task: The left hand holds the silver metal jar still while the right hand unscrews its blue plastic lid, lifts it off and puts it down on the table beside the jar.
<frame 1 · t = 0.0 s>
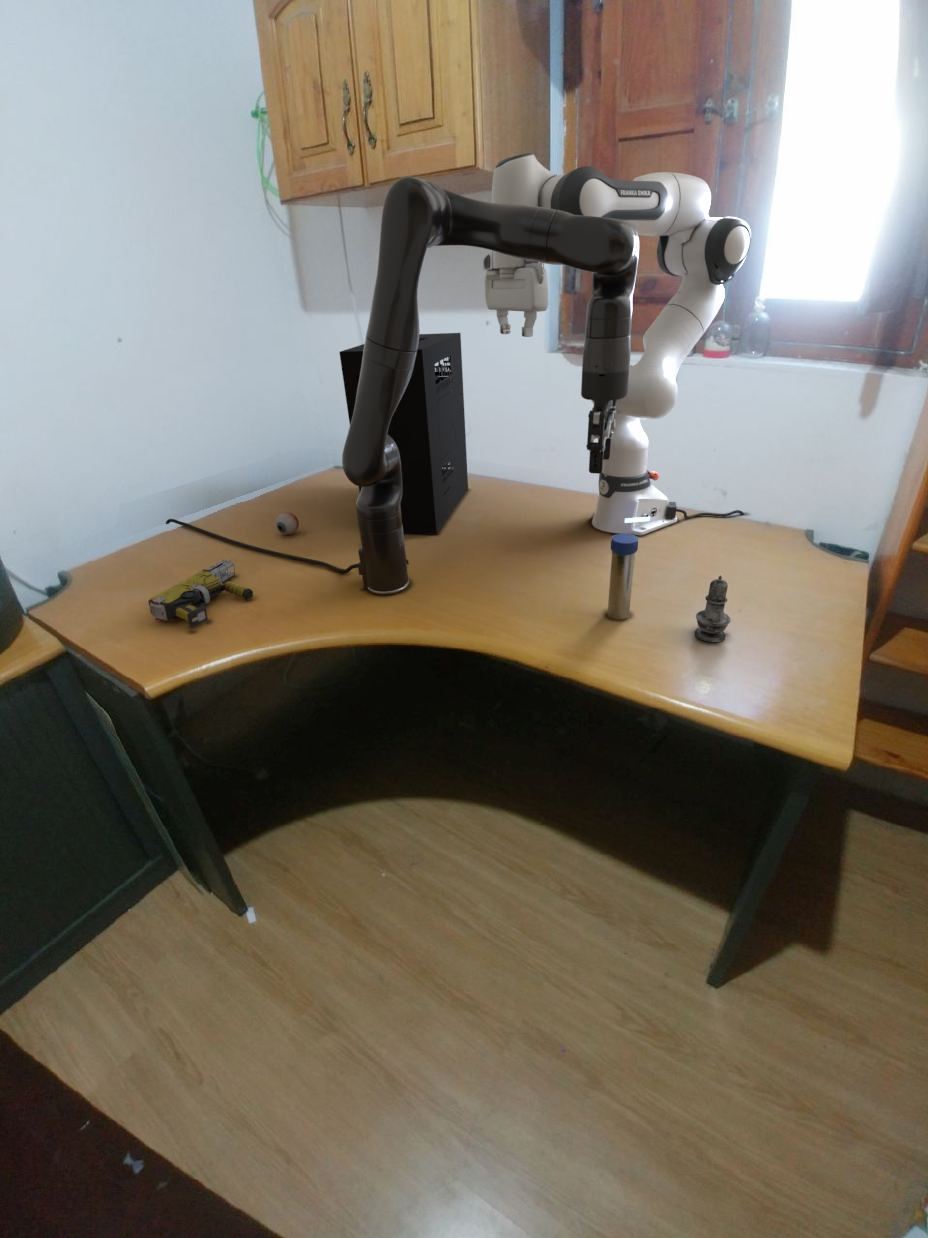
left hand: (599, 465, 106), 29 cm above the table, tool pointing down, fingers open, 8 cm apart
right hand: (516, 335, 125), 48 cm above the table, tool pointing down, fingers open, 8 cm apart
lid: (624, 540, 111), point 16 cm above the table, screwed on, not yet turned
grey stone tiered figure: (709, 635, 110), on the table
toy gun: (217, 601, 132), on the table
cardboard box: (420, 509, 177), on the table
jar: (618, 614, 119), on the table
eyeball: (289, 534, 165), on the table
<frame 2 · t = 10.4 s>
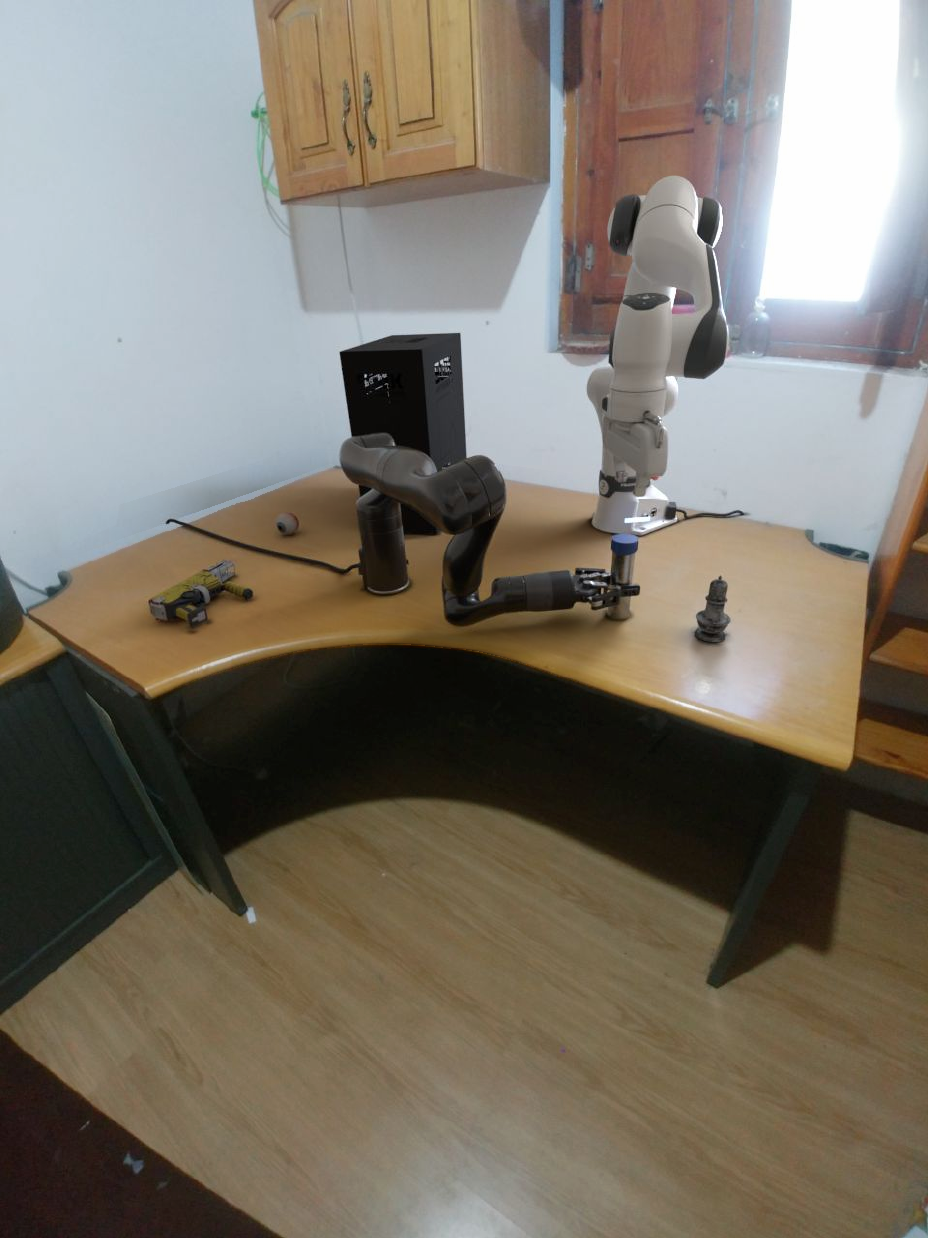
left hand: (634, 583, 116), 7 cm above the table, tool horizontal, fingers closed on jar, 4 cm apart
right hand: (629, 488, 106), 26 cm above the table, tool pointing down, fingers open, 7 cm apart
jar: (618, 614, 119), on the table, touching left hand
everything else where it was.
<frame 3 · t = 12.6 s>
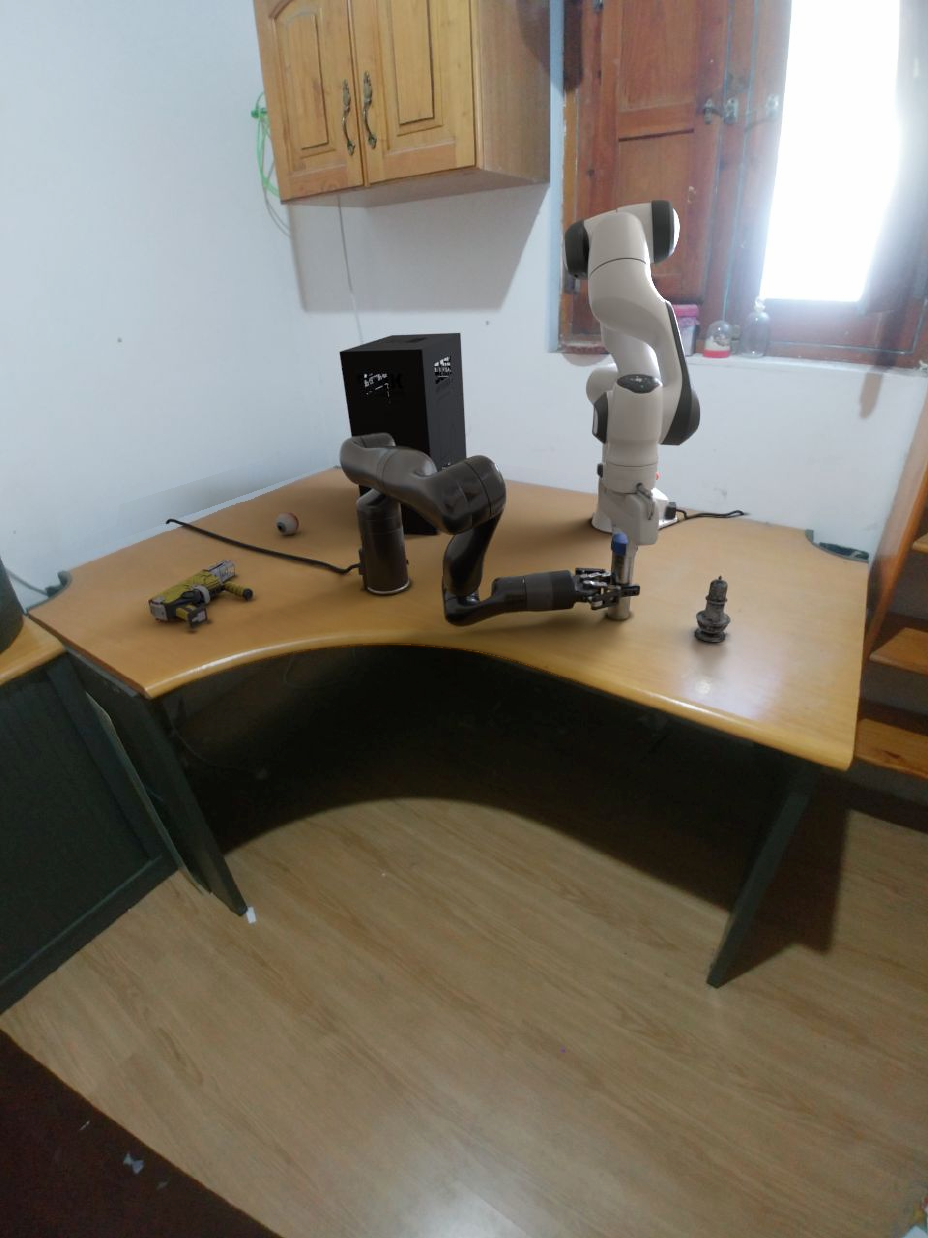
left hand: (634, 583, 116), 7 cm above the table, tool horizontal, fingers closed on jar, 4 cm apart
right hand: (623, 549, 112), 14 cm above the table, tool pointing down, fingers closed on lid, 4 cm apart
lid: (624, 540, 111), point 16 cm above the table, screwed on, not yet turned, touching right hand
jar: (618, 614, 119), on the table, touching left hand
everything else where it was.
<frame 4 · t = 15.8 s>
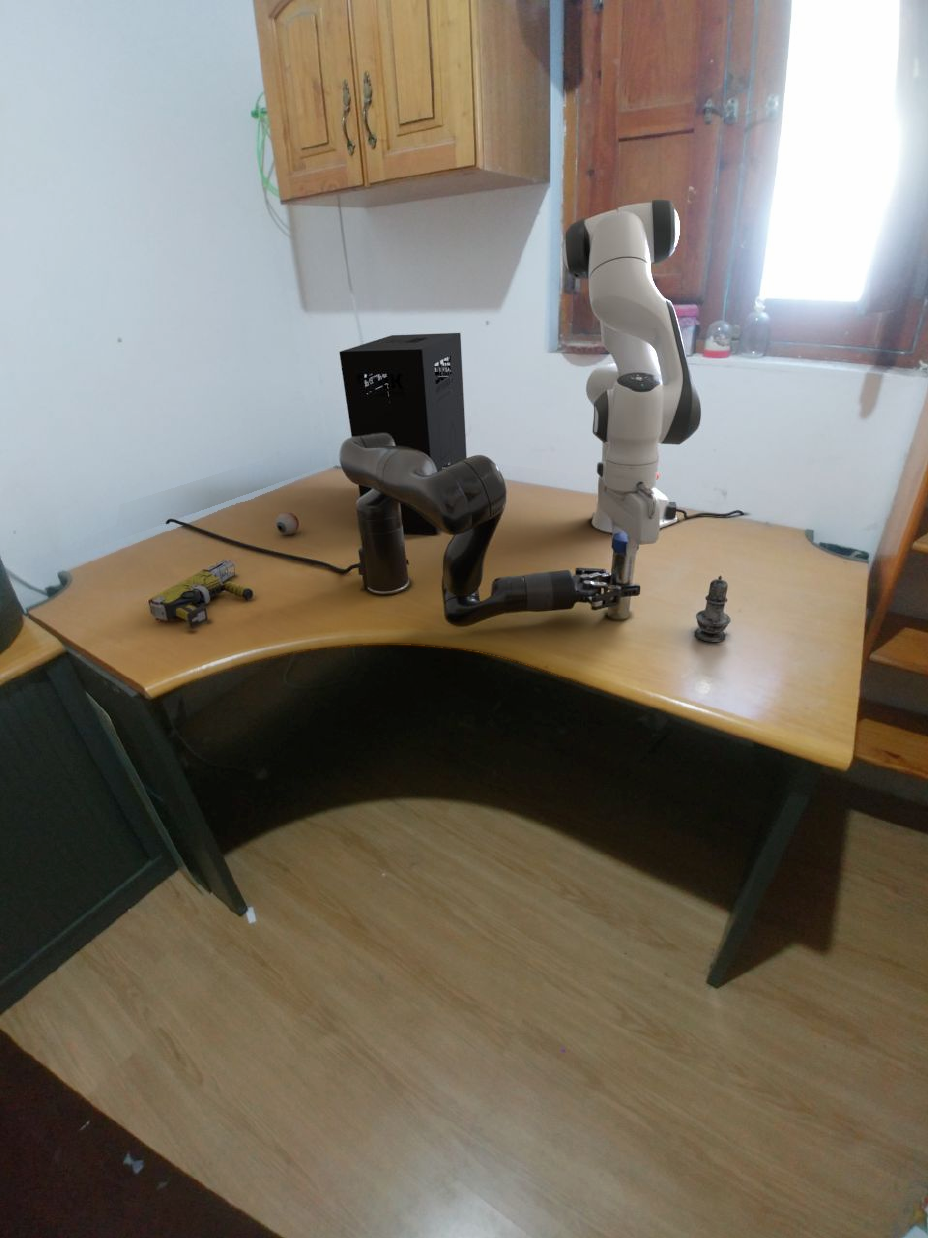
left hand: (634, 583, 115), 7 cm above the table, tool horizontal, fingers closed on jar, 4 cm apart
right hand: (623, 548, 112), 14 cm above the table, tool pointing down, fingers closed on lid, 4 cm apart
lid: (625, 538, 111), point 16 cm above the table, turned 84° so far, risen 0.2 cm, still on its thread, touching right hand
jar: (617, 614, 119), on the table, touching left hand
everything else where it was.
when the right hand's fingers open (2 cm above the table, at t = 22.3 s): lid drops 2 cm, point 2 cm above the table.
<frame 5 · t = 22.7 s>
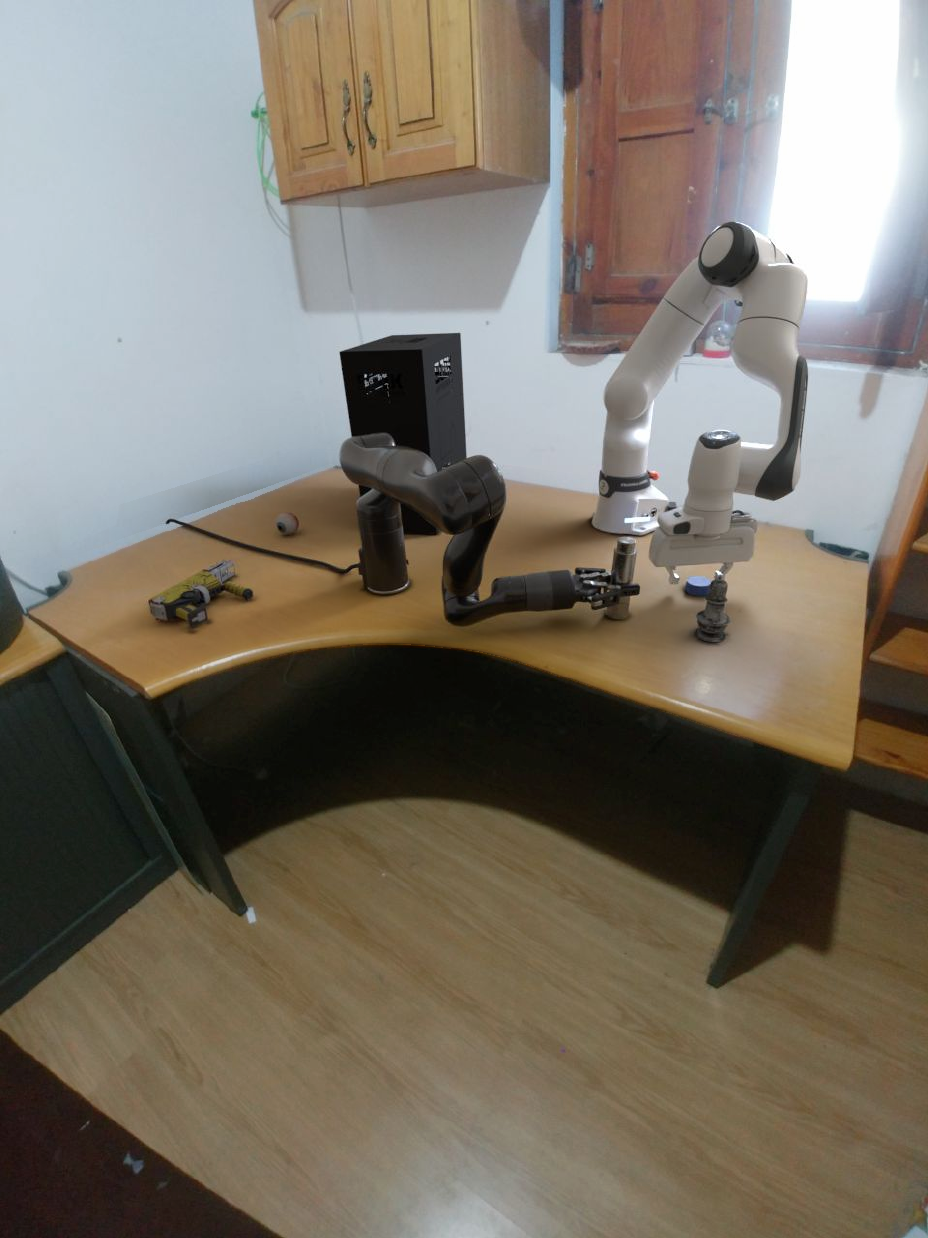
left hand: (634, 583, 116), 7 cm above the table, tool horizontal, fingers closed on jar, 4 cm apart
right hand: (696, 581, 124), 2 cm above the table, tool pointing down, fingers open, 8 cm apart
lid: (698, 582, 125), point 2 cm above the table, off its thread
jar: (616, 614, 119), on the table, touching left hand
everything else where it was.
when the left hand's fingers open (7 cm above the table, at t = 23.3 s): jar stays where it is, on the table.
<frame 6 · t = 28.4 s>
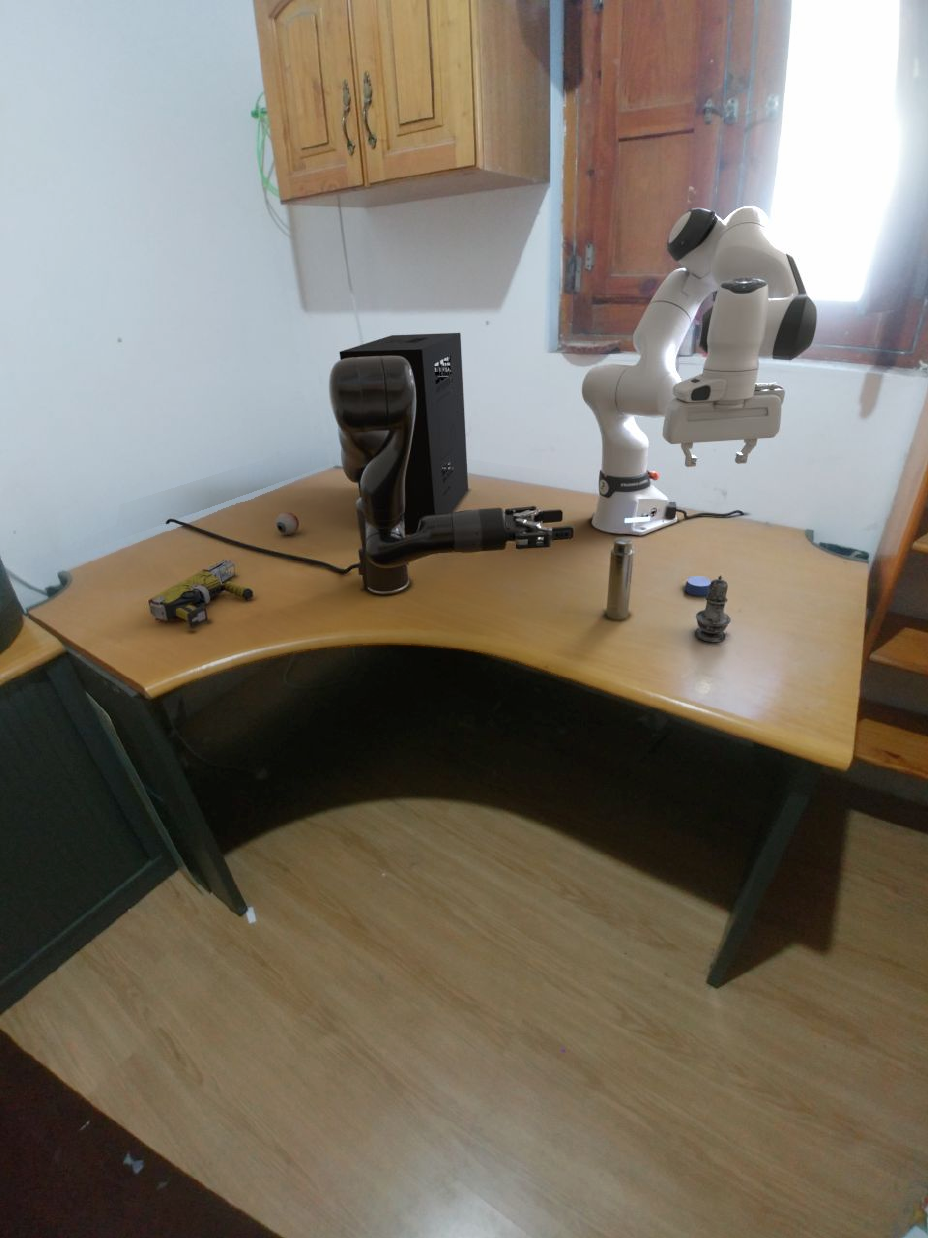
left hand: (567, 523, 108), 20 cm above the table, tool horizontal, fingers open, 8 cm apart
right hand: (715, 464, 112), 27 cm above the table, tool pointing down, fingers open, 8 cm apart
jar: (616, 614, 119), on the table
everything else where it was.
at the end: lid came off its thread; lid point 1.9 cm above the table; the left hand is holding nothing; the right hand is holding nothing; jar tilted 0°; jar moved 0.2 cm from its start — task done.
